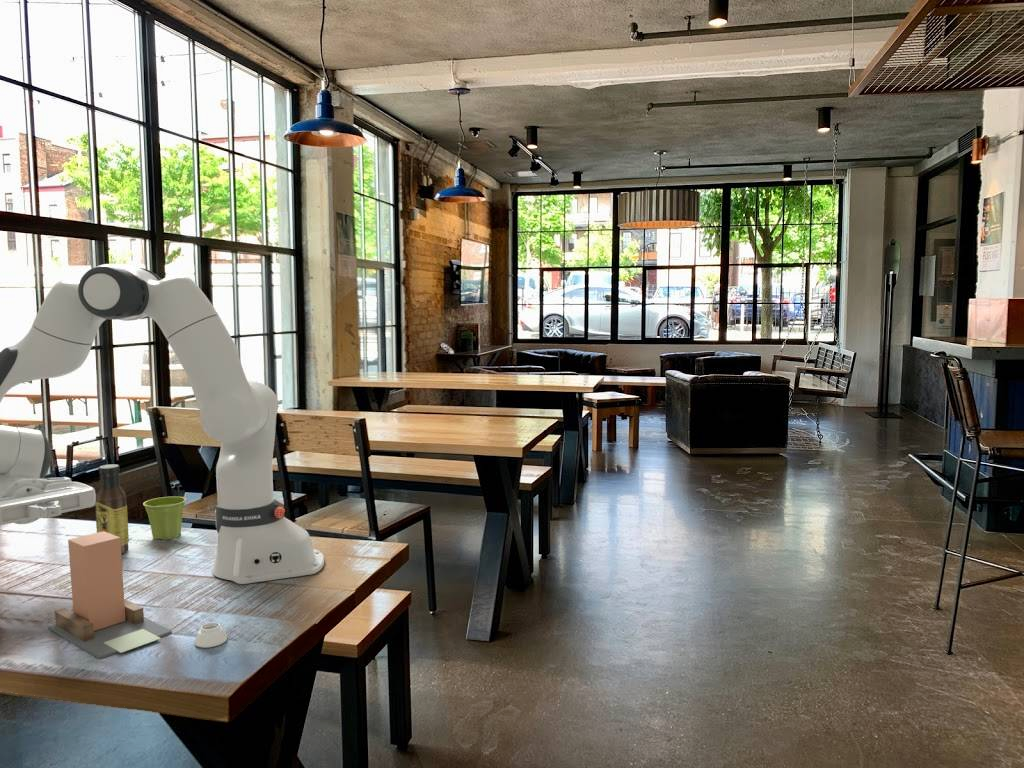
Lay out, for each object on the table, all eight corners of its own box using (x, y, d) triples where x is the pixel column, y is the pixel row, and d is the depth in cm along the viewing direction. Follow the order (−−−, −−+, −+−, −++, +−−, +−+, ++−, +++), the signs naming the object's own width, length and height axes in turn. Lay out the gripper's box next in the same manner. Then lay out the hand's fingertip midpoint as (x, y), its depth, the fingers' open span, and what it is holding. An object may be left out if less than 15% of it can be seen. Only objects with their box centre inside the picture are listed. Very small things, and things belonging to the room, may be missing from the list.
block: (74, 623, 135) (68, 539, 133) (109, 612, 139) (103, 531, 138) (89, 632, 131) (83, 546, 129) (125, 620, 136) (120, 537, 134)
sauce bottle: (94, 552, 174) (88, 465, 172) (124, 546, 179) (119, 461, 176) (103, 559, 170) (97, 470, 168) (133, 552, 174) (128, 465, 172)
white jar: (231, 644, 128) (222, 633, 132) (230, 627, 128) (221, 617, 132) (199, 652, 125) (191, 641, 129) (198, 635, 125) (190, 624, 129)
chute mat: (48, 628, 134) (48, 625, 134) (118, 606, 144) (118, 603, 144) (103, 661, 122) (103, 658, 122) (176, 635, 131) (176, 632, 131)
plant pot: (140, 535, 186) (138, 500, 185) (181, 528, 192) (179, 494, 191) (151, 545, 179) (149, 508, 178) (193, 537, 185) (191, 501, 184)
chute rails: (55, 624, 135) (54, 611, 134) (114, 606, 142) (113, 593, 142) (84, 641, 128) (83, 627, 128) (144, 621, 136) (143, 607, 135)
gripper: (-41, 495, 143) (-13, 507, 135) (76, 475, 159) (107, 485, 151) (-39, 528, 144) (-11, 542, 135) (78, 505, 160) (109, 517, 151)
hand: (52, 512), depth 143 cm, fingers closed
